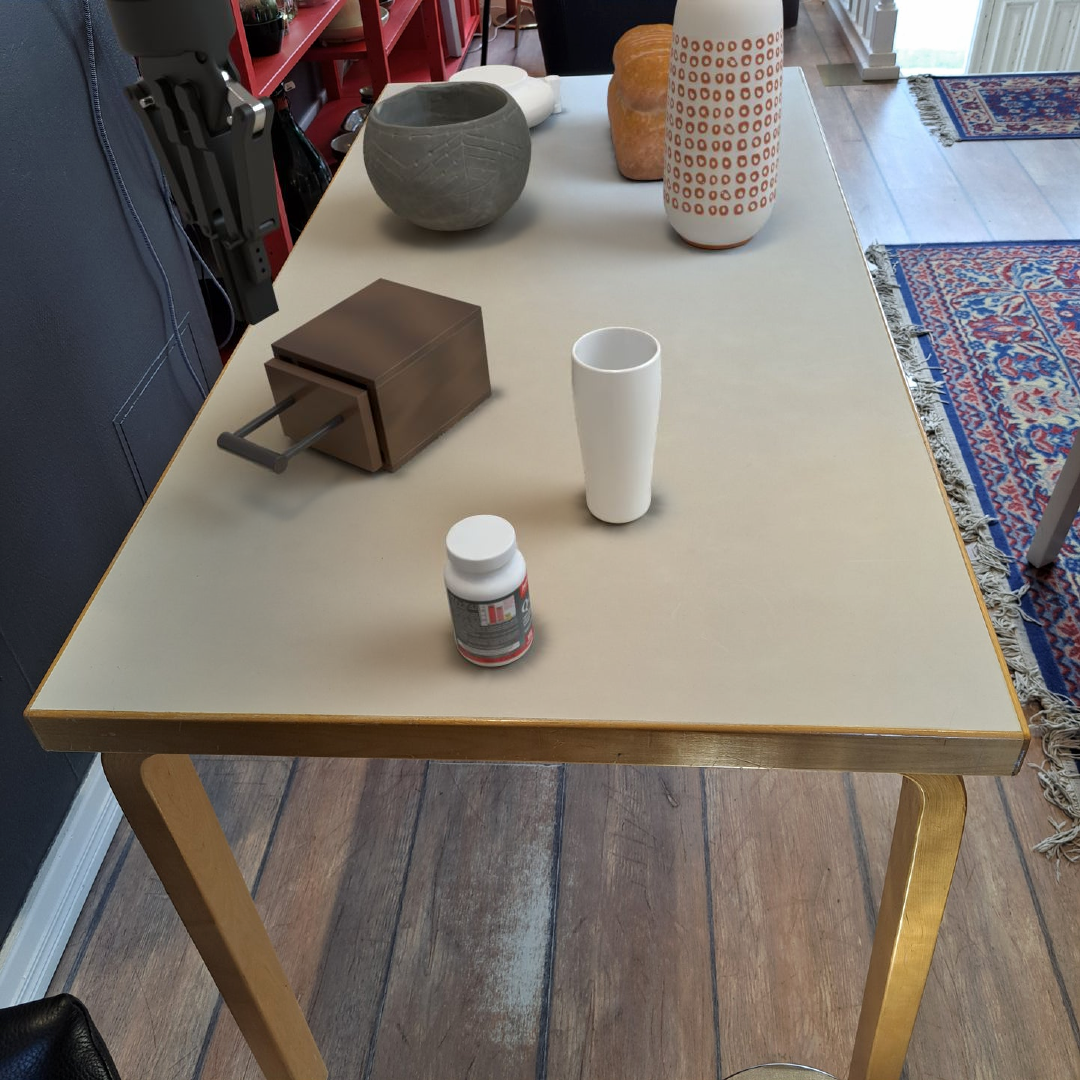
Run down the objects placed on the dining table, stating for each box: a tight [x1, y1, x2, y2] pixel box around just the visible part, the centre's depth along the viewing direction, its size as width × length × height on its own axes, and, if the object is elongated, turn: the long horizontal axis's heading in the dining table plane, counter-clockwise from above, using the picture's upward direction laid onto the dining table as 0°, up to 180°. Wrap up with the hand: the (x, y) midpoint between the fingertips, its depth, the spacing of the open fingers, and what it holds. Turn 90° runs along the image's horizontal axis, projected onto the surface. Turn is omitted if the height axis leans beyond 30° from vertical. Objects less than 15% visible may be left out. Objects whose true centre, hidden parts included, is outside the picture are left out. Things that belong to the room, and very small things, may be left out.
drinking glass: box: [570, 326, 663, 524], centre depth 77 cm, size 7×7×15 cm
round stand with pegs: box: [447, 64, 563, 129], centre depth 155 cm, size 24×24×7 cm
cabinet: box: [270, 277, 493, 473], centre depth 92 cm, size 15×13×10 cm
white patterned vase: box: [662, 0, 784, 250], centre depth 111 cm, size 13×13×28 cm
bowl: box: [362, 81, 532, 232], centre depth 124 cm, size 21×21×15 cm
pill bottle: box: [443, 514, 534, 667], centre depth 68 cm, size 6×6×10 cm
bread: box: [606, 23, 673, 181], centre depth 139 cm, size 14×26×15 cm, turn 0°
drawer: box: [216, 357, 383, 475], centre depth 88 cm, size 22×11×8 cm, turn 145°
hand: (257, 314), depth 77 cm, fingers closed
